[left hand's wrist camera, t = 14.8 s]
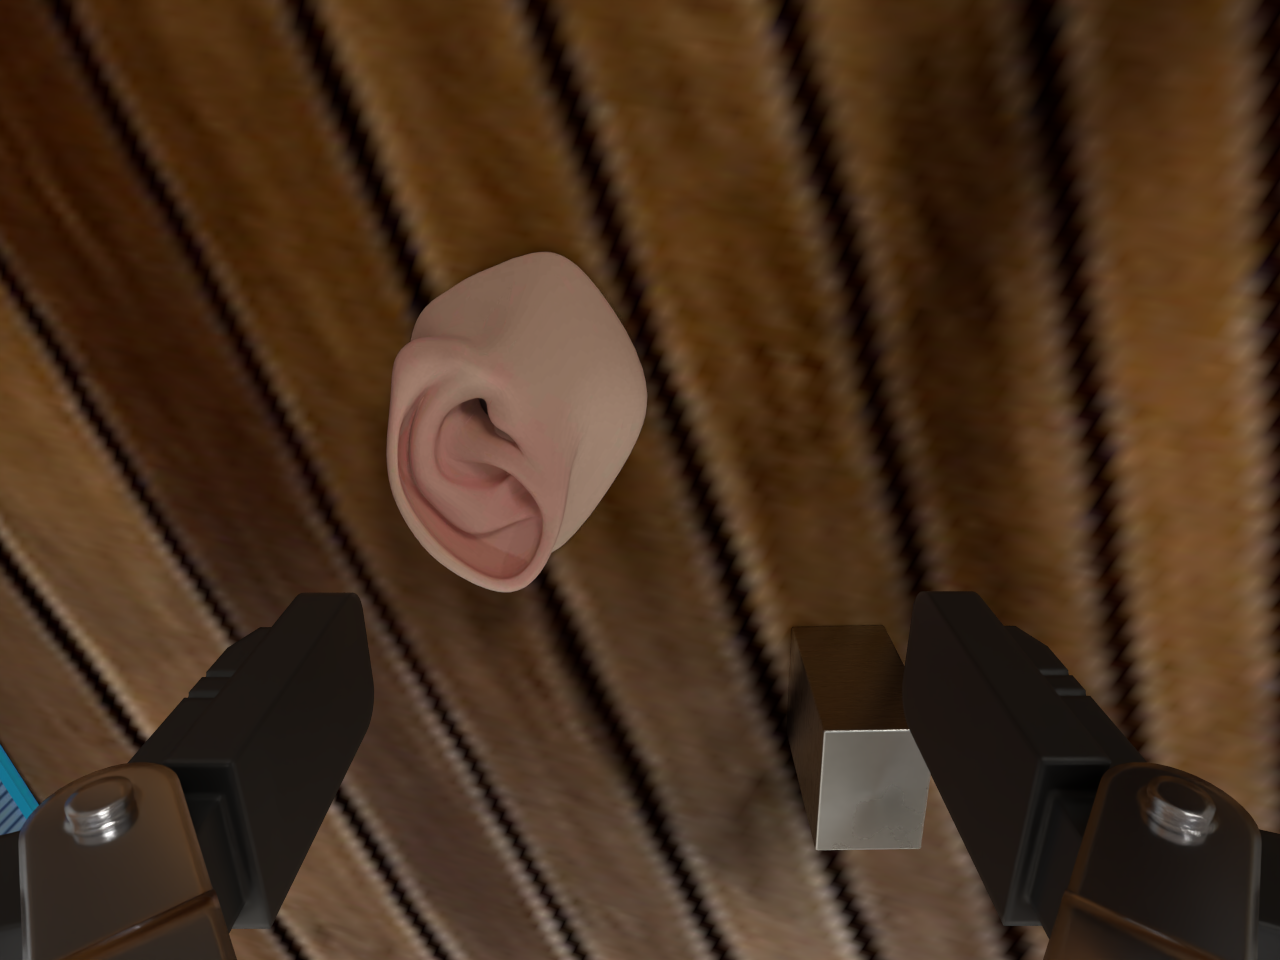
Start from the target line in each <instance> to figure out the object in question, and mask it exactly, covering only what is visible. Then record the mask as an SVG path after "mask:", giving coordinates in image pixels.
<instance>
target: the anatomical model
mask: <svg viewBox="0 0 1280 960" xmlns="http://www.w3.org/2000/svg"><path fill="white" fill-rule="evenodd" d="M646 408H647V389H646V381H645V377H644V373H643V369H642V366H641V363H640V361H639V358H638V355H637V353H636V350H635V348H634V346H633V344H632V342H631V340H630V338H629V336H628V334H627V332H626V330H625V328H624V327H623V325H622V324H621V322H620V320H619V319H618V317H617V315H616V314H615V312H614V310H613V309H612V308H611V306H610V305H609V303H608V302H607V300H606V299H605V298H604V296H603V295H602V293H601V292H600V291H599V289H598V288H597V287H596V286H595V285H594V283H593V282H592V281H591V280H590V279H589V277H588V276H587V275H586V274H585V273H584V272H583V271H582V270H581V269H580V268H579V267H578V266H577V265H575V264H574V263H573V262H571V261H570V260H569V259H567V258H565V257H563V256H561V255H559V254H556V253H551V252H537V253H530V254H527V255H523V256H520V257H517V258H513V259H511V260H508V261H506V262H503V263H501V264H498V265H496V266H494V267H491V268H489V269H486V270H484V271H482V272H479V273H477V274H475V275H473V276H471V277H469V278H467V279H465V280H463V281H462V282H460V283H459V284H457V285H455V286H454V287H452V288H451V289H449V290H448V291H446V292H445V293H443V294H441V295H440V296H438V297H437V298H436V299H434V300H433V301H432V302H431V303H430V304H428V305H427V306H426V307H425V309H424V310H423V311H422V312H421V314H420V316H419V317H418V319H417V322H416V324H415V327H414V330H413V333H412V337H411V342H409V343H408V344H406V345H405V346H404V347H403V348H402V349H401V350H400V352H399V353H398V355H397V357H396V359H395V362H394V366H393V372H392V383H391V399H390V411H389V421H388V431H387V469H388V476H389V482H390V486H391V490H392V493H393V497H394V499H395V501H396V504H397V506H398V508H399V510H400V512H401V514H402V516H403V518H404V520H405V521H406V523H407V525H408V526H409V528H410V529H411V531H412V532H413V534H414V535H415V537H416V538H417V539H418V541H419V542H420V543H421V545H422V546H423V547H424V548H425V549H426V550H427V551H428V552H429V553H430V554H431V555H432V556H433V557H434V558H435V559H436V560H437V561H438V562H440V563H441V564H442V565H444V566H445V567H447V568H448V569H449V570H451V571H452V572H454V573H455V574H457V575H459V576H460V577H462V578H464V579H466V580H468V581H470V582H472V583H474V584H476V585H478V586H481V587H483V588H486V589H489V590H493V591H498V592H513V591H517V590H519V589H522V588H524V587H526V586H527V585H528V584H530V583H531V582H532V581H533V580H534V579H535V578H536V577H537V576H538V574H539V573H540V572H541V570H542V569H543V567H544V566H545V564H546V562H547V561H548V559H549V557H550V555H551V552H553V551H555V550H556V549H558V548H559V547H561V546H562V545H563V544H565V543H566V542H567V541H568V540H569V539H570V538H571V537H572V536H573V535H574V534H575V533H576V531H577V530H578V529H579V528H580V527H581V525H582V524H583V523H584V522H585V521H586V519H587V518H588V517H589V516H590V514H591V513H592V512H593V510H594V509H595V508H596V506H597V505H598V503H599V502H600V500H601V499H602V498H603V496H604V495H605V493H606V492H607V490H608V489H609V487H610V486H611V484H612V483H613V481H614V480H615V478H616V477H617V475H618V473H619V472H620V470H621V469H622V467H623V465H624V463H625V462H626V460H627V458H628V456H629V455H630V453H631V451H632V449H633V447H634V444H635V442H636V440H637V438H638V436H639V433H640V431H641V428H642V425H643V422H644V419H645V414H646Z"/></svg>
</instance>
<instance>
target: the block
mask: <svg viewBox="0 0 1280 960" xmlns="http://www.w3.org/2000/svg"><path fill="white" fill-rule="evenodd" d="M904 668H905V666H904V664H903V662H902V661H901V659H900V657H899V655H898V653H897V651H896V649H895V647H894V645H893V643H892V641H891V639H890V637H889V635H888V633H887V631H886V629H885V627H884V626H882V625H881V626H829V627H792V632H791V652H790V673H789V693H788V714H787V735H788V739H789V743H790V747H791V751H792V755H793V759H794V763H795V768H796V772H797V776H798V780H799V784H800V788H801V792H802V796H803V801H804V805H805V809H806V813H807V817H808V821H809V825H810V829H811V833H812V838H813V842H814V846H815V849H816V850H861V849H919V848H921V841H922V834H923V826H924V819H925V811H926V804H927V797H928V789H929V782H930V772H929V769H928V767H927V765H926V763H925V761H924V759H923V757H922V755H921V753H920V751H919V749H918V747H917V745H916V743H915V741H914V738H913V736H912V734H911V732H910V730H909V728H908V725H907V722H906V719H905V715H904V710H903V701H902V683H903V675H904Z"/></svg>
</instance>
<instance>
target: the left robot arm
mask: <svg viewBox="0 0 1280 960" xmlns="http://www.w3.org/2000/svg"><path fill="white" fill-rule="evenodd" d="M902 701H903V710H904V715H905V719H906V722H907V725H908V728H909V730H910V732H911V734H912V736H913V738H914V741H915V743H916V745H917V747H918V749H919V751H920V753H921V755H922V757H923V759H924V761H925V763H926V765H927V767H928V769H929V772H930V774H931V776H932V778H933V780H934V782H935V784H936V786H937V788H938V790H939V792H940V794H941V796H942V798H943V801H944V803H945V805H946V807H947V809H948V811H949V813H950V815H951V817H952V819H953V821H954V823H955V825H956V827H957V830H958V832H959V834H960V836H961V838H962V840H963V842H964V844H965V846H966V848H967V850H968V852H969V854H970V856H971V859H972V861H973V863H974V865H975V867H976V869H977V871H978V873H979V875H980V877H981V879H982V881H983V883H984V885H985V888H986V890H987V892H988V894H989V896H990V898H991V900H992V902H993V904H994V906H995V908H996V910H997V912H998V914H999V917H1000V919H1001V921H1002V923H1003V925H1004V926H1043V928H1044V930H1045V932H1046V934H1047V936H1048V938H1049V943H1048V946H1047V949H1046V952H1045V955H1044V959H1043V960H1280V834H1277V833H1273V832H1268V831H1264V830H1260V829H1258V826H1257V824H1256V823H1255V821H1254V820H1253V818H1252V817H1251V815H1250V814H1249V813H1248V812H1247V811H1246V810H1245V809H1244V808H1243V807H1242V806H1241V805H1240V804H1239V803H1238V802H1237V801H1236V800H1234V799H1233V798H1232V797H1231V796H1229V795H1228V794H1226V793H1225V792H1224V791H1222V790H1221V789H1219V788H1217V787H1216V786H1214V785H1212V784H1211V783H1209V782H1207V781H1205V780H1203V779H1201V778H1199V777H1197V776H1194V775H1192V774H1189V773H1187V772H1185V771H1182V770H1178V769H1175V768H1172V767H1168V766H1164V765H1160V764H1153V763H1147V762H1146V760H1145V759H1144V758H1143V757H1142V756H1141V755H1140V753H1139V752H1138V751H1137V750H1136V749H1135V748H1134V746H1133V745H1132V744H1131V743H1130V742H1129V741H1128V739H1127V738H1126V737H1125V736H1124V735H1123V734H1122V733H1121V731H1120V730H1119V729H1118V728H1117V727H1116V726H1115V724H1114V723H1113V722H1112V721H1111V720H1110V719H1109V717H1108V716H1107V715H1106V714H1105V713H1104V712H1103V710H1102V709H1101V708H1100V707H1099V706H1098V705H1097V703H1096V702H1095V701H1094V700H1093V699H1092V698H1091V696H1086V693H1085V689H1084V688H1083V687H1082V686H1081V685H1080V684H1079V682H1078V681H1077V680H1076V679H1075V678H1074V677H1073V675H1069V674H1068V670H1067V668H1066V667H1065V666H1064V665H1063V664H1062V663H1061V661H1060V660H1059V659H1058V658H1057V657H1056V656H1055V655H1054V653H1053V652H1052V651H1051V650H1050V649H1049V648H1048V646H1046V645H1044V644H1043V643H1041V642H1040V641H1038V640H1037V639H1035V638H1033V637H1032V636H1030V635H1029V634H1027V633H1026V632H1024V631H1022V630H1021V629H1019V628H1018V627H1016V626H1003V625H1002V623H1001V622H1000V621H999V620H998V618H997V617H996V616H995V615H994V613H993V612H992V611H991V610H990V608H989V607H988V606H987V605H986V603H985V602H984V601H983V600H982V598H981V597H980V596H979V595H978V594H977V593H975V592H972V591H923V592H920V593H919V594H918V595H917V597H916V599H915V602H914V606H913V612H912V619H911V626H910V633H909V640H908V647H907V654H906V661H905V668H904V675H903V683H902ZM373 703H374V684H373V677H372V670H371V663H370V656H369V649H368V642H367V635H366V628H365V622H364V615H363V608H362V604H361V601H360V599H359V597H358V595H357V594H355V593H301V594H299V595H298V596H297V597H296V598H295V599H294V600H293V601H292V603H291V604H290V605H289V606H288V607H287V609H286V610H285V611H284V612H283V614H282V615H281V616H280V617H279V619H278V620H277V621H276V622H275V624H274V625H273V626H272V627H260V628H258V629H257V630H255V631H254V632H252V633H250V634H249V635H247V636H246V637H244V638H242V639H241V640H239V641H238V642H236V643H235V644H233V645H231V646H230V647H228V648H227V649H226V650H225V651H224V652H223V654H222V655H221V656H220V657H219V658H218V659H217V661H216V662H215V663H214V664H213V665H212V666H211V667H210V669H209V670H208V671H207V672H206V677H202V678H201V679H200V680H199V681H198V682H197V684H196V685H195V686H194V687H193V688H192V689H191V691H190V692H189V697H188V698H184V699H183V700H182V701H181V702H180V703H179V704H178V706H177V707H176V708H175V709H174V710H173V711H172V712H171V714H170V715H169V716H168V717H167V718H166V719H165V721H164V722H163V723H162V724H161V725H160V726H159V727H158V729H157V730H156V731H155V732H154V733H153V734H152V736H151V737H150V738H149V739H148V740H147V741H146V742H145V744H144V745H143V746H142V747H141V748H140V749H139V751H138V752H137V753H136V754H135V755H134V756H133V757H132V759H131V760H130V761H129V762H128V763H127V764H120V765H116V766H112V767H108V768H105V769H102V770H98V771H95V772H93V773H91V774H88V775H86V776H83V777H81V778H79V779H77V780H75V781H73V782H71V783H69V784H68V785H66V786H64V787H63V788H61V789H59V790H58V791H56V792H55V793H54V794H52V795H51V796H49V797H48V798H47V799H46V800H44V801H43V802H42V803H41V804H40V805H39V806H38V807H37V808H36V809H35V810H34V811H33V812H32V813H31V814H30V815H29V817H28V818H27V820H26V821H25V823H24V824H23V826H22V829H21V830H20V831H16V832H12V833H8V834H4V835H0V960H237V959H236V955H235V952H234V949H233V946H232V943H231V939H230V936H229V933H230V931H231V929H270V928H271V926H272V924H273V922H274V920H275V918H276V916H277V914H278V912H279V910H280V908H281V905H282V903H283V901H284V899H285V897H286V895H287V893H288V891H289V889H290V887H291V885H292V883H293V881H294V879H295V877H296V875H297V873H298V871H299V869H300V867H301V865H302V862H303V860H304V858H305V856H306V854H307V852H308V850H309V848H310V846H311V844H312V842H313V840H314V838H315V836H316V834H317V832H318V830H319V828H320V826H321V824H322V822H323V820H324V817H325V815H326V813H327V811H328V809H329V807H330V805H331V803H332V801H333V799H334V797H335V795H336V793H337V791H338V789H339V787H340V785H341V783H342V781H343V779H344V777H345V775H346V772H347V770H348V768H349V766H350V764H351V762H352V760H353V758H354V756H355V754H356V752H357V750H358V748H359V746H360V744H361V742H362V740H363V738H364V736H365V734H366V732H367V729H368V727H369V724H370V720H371V716H372V711H373Z"/></svg>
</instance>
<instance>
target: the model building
mask: <svg viewBox="0 0 1280 960" xmlns="http://www.w3.org/2000/svg"><path fill="white" fill-rule="evenodd" d="M38 806H39V804H38V803H37V801H36V800H35V798H34V796H33V795H32V793H31V792H30V790H29V789H28V787H27V786H26V784H25V782H24V781H23V779H22V778H21V776H20V775H19V773H18V771H17V770H16V768H15V767H14V765H13V764H12V762H11V760H10V759H9V757H8V756H7V754H6V753H5V751H4V749H3V748H2V746H1V745H0V835H4V834H8V833H12V832H16V831H20V830H21V829H22V826H23V824H24V823H25V821H26V820H27V818H28V817H29V815H30V814H31V813H32V812H33V811H34V810H35V809H36V808H37V807H38Z"/></svg>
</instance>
